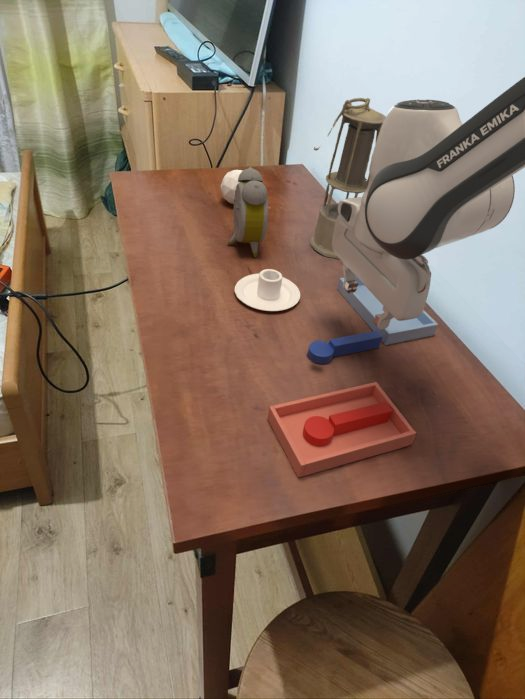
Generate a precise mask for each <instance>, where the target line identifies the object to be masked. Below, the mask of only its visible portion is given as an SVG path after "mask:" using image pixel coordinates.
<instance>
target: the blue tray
mask: <svg viewBox="0 0 525 699" xmlns="http://www.w3.org/2000/svg"><path fill="white" fill-rule="evenodd" d="M344 280H345V279H344V277H339V279H338V283H337V287H336V289H337V291H338V292H339V293H340V294H341V296H342V297H343V298H344V299H345V300H346V301H347V303H348V304H349V305H350V306H351V308H353V310H354V311H355V312H356V313H357V314H358V315H359V317H360V318H361V319H362V320H363V321H364V322H365V324H366V325H367V326H368V327H369V329H371V330H372V331H378V332H379V333H380V335H381V336H382V340H381V343H382V344H384V346H388V345H393V344H398V343H403V342H407V341H408V342H409V341H412V340H413V341H414V340H417V339H423V338H428V337H432V336H435V334H436V332H437V328H438V327H439V323H438V322H437V321H436V320H435V319H434V318H433V317H432V316H430V315H429V314H428V313H427V312H426V310H423V313H422V314H421V315H420V316H419V317H417V318H414V319H410V320H403V321H398V320H396V319H395V318H392V319H391V320H390V323H389V326H388V327H387V328H385V329H378V327H377V326H376V325H375V324H374V320H375V315H376V314H382V313H384V311H383V310H382V309H383V305H382V304H381V303H380V301H379V300H378V299H377V298H376V297H375V296H374V295H373V294H372V293H371V292H370V291H369V290H368V288H367V287H366V286H365V285H364V284H363V283H362V282H361V281H360V280H359V279H358V278H357V277H356V281H357V282H358V287H357V290H356V292H353V293H352V292H351V293H347V292H346V290H345V289H344V288H343V284H344Z"/></svg>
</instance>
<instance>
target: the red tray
mask: <svg viewBox="0 0 525 699" xmlns="http://www.w3.org/2000/svg"><path fill="white" fill-rule="evenodd" d="M382 402H386V403H387V404H388V406H389V407H390V408H391V410H392V413H391V415H390V418H389V420H388V422H386V423H382V424H378V425H374V426H370V427H367V428H363V429H359V430H355V431H351V432H348V433H344V434H340V435H336V436H332V440H331V442H330V443H329V444H327V445H325V446H314V445H311V444H310V443H308V442H307V441H306V440H305V439H304V437H303V428H304V424H305V421H306V420H307V419H308V418H310V417H313V416H321V417H324V418H326V419H329V416H330V415H333V414H337V413H341V412H345V411H350V410H354V409H358V408H362V407H366V406H370V405H374V404H378V403H382ZM267 421H268V423H269V425H270V427H271V429H272V431H273V432H274V434H275V437H276V438H277V440H278V442H279V444H280V446H281V447H282V449H283V451H284V453H285V455H286V457H287V459H288V461H289V462H290V463H289V464H290V465H291V466H292V469H293V470H294V472H295V474H296V476H297V478H302V477H306V476H309V475H312V474H315V473H320V472H323V471H326V470H330V469H333V468H336V467H340V466H344V465H346V464H349V463H353V462H356V461H361V460H364V459H368V458H370V457H374V456H378V455H381V454H385V453H389V452H391V451H394V450H398V449H402V448H405V447H409V446H412V444H413V441H414V439H415V438H416V435H417V432H416V431H415V430H414V428H413V427H412V426H411V425H410V423H409V422H408V420H407V419H406V418H405V416H403V414H402V413H401V412H400V410H399V409H398V408H397V406H396V405H395V404H394V402H393V401H392V400H391V399H390V397H389V396H388V395H387V394H386V392H385V391H384V390H383V388H381V386H380V384H378V382H377V381H374V382H370V383H365V384H361V385H356V386H353V387H348V388H344V389H339V390H334V391H330V392H326V393H322V394H318V395H317V394H316V395H313V396H308V397H304V398H301V399H296V400H292V401H287V402H282V403H279V404H274V405H270V406H269V407H268V413H267Z"/></svg>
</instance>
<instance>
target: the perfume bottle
mask: <svg viewBox="0 0 525 699" xmlns="http://www.w3.org/2000/svg"><path fill="white" fill-rule="evenodd" d="M243 170H244V169H243ZM243 170H242V169H232V170H230V171H227V173H226V174H225V175H224V177H223V178H222V180H221V183H220V192H221V194H222V198H223V199H224V200H226V201H227V202H228V203H229V204H230V205H234V197H235V190H236V186H237V184H238V183H240V182H238V178H239V175H240V173H241V172H242V171H243ZM241 183H242V182H241Z"/></svg>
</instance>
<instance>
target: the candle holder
mask: <svg viewBox="0 0 525 699" xmlns="http://www.w3.org/2000/svg"><path fill="white" fill-rule="evenodd" d="M233 291H234V293H235V296H236V298H237V299H238V300H239V301H241V302H242V303H243V304H245V305H246V306H248V307H251V308H253V309H256V310H260V311H266V312H279V311H284V310H288V309H290V308H291V309H292V308H293V307H294V306H295V305H297V304H298V302H299V301H300V299H301V291H300V289H299V288H298V286H297V285H296V284H295V283H294V282H292V280H290V279H288V278H286V277H284V276H283V274H282V273H281V272H280V271H278V270H276V269H272V268H266V269H263V270H261V271H260V272H259V273H253V274H249V275H245V276H243V277H241V278H240V279H238V281H237V282H236V284H235V286H234V290H233Z"/></svg>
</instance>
